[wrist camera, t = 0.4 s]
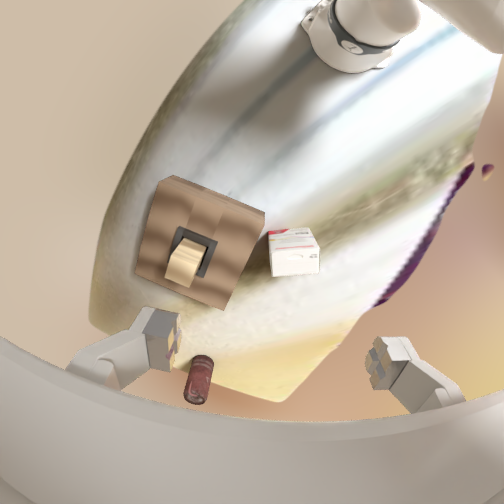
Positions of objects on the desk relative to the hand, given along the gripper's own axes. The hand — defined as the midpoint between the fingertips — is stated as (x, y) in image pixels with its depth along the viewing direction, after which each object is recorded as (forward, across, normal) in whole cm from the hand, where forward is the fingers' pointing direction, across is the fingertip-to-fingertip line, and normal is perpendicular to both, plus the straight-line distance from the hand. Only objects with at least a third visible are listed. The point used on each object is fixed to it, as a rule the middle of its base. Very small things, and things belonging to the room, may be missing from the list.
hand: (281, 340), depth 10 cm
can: (+45, +10, +52) cm, 70 cm away
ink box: (+45, -6, +12) cm, 47 cm away
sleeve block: (+45, +12, +14) cm, 48 cm away
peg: (+38, +12, +14) cm, 42 cm away
